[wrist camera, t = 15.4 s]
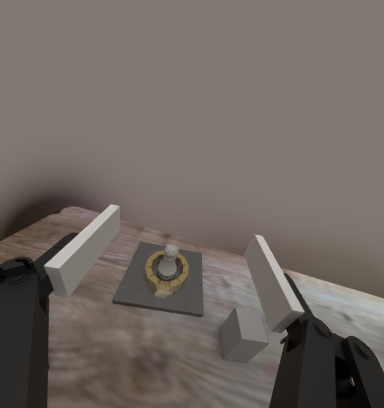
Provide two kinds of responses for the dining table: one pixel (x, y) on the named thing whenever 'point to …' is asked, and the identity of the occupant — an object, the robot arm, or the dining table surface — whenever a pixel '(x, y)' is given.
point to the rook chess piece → (168, 262)
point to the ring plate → (162, 282)
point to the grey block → (243, 335)
